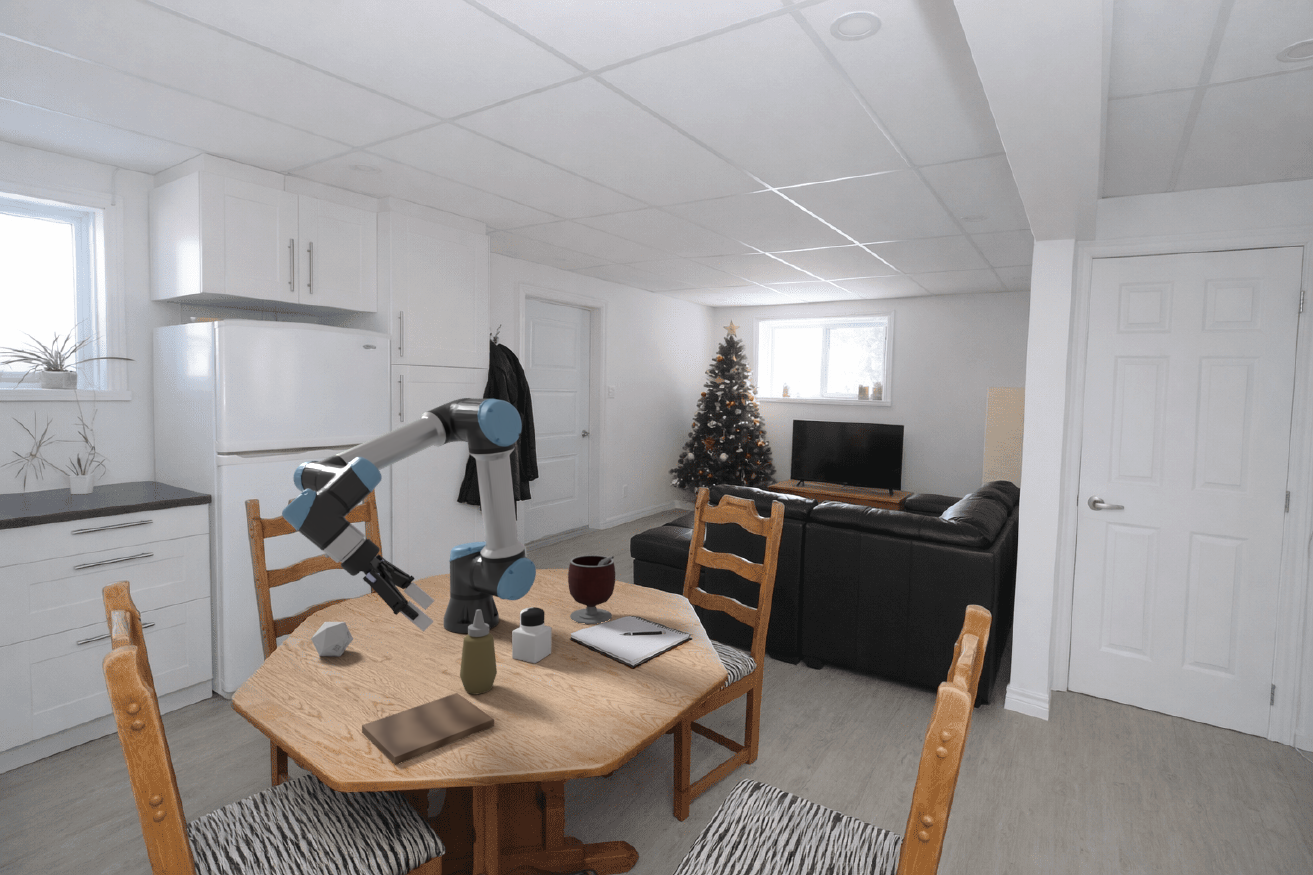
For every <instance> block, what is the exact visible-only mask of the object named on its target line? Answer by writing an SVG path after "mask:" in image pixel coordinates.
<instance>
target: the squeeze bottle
mask: <svg viewBox="0 0 1313 875" xmlns="http://www.w3.org/2000/svg"><path fill="white" fill-rule="evenodd" d="M494 640H495V639H494V635H493V634H492V633H490V629H489V625H488V624H486V623H484V619H483V615H482V610H481V609H478V610H476V613H475V617H474V622H473V624H471V625H469V626H468V633H467V635H465V636H464V637H463V641H462V642H463V643H462V644H463V645H462V652H461V661H460V669H459V678H460V681H461V684H462V686H463V688H464V691H465V692H466V693H468V694H472V695H473V694H474V695H478V694H484V693H487V692H489V691H490V690H492V688H493V686H494V683H495V679H496V676H497V673H498V670H497V660H496V659H497V658H496V650H495V641H494Z"/></svg>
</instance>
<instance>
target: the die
mask: <svg viewBox="0 0 1313 875" xmlns="http://www.w3.org/2000/svg"><path fill="white" fill-rule="evenodd" d="M349 629H350V628H349V627H348V625H347V623H346V621H324V623H323V624H322V625H321V626H320V627H319V628H318V630H317V631H316V632H315V633H314V634H313V636H312V637H311V638H310V640H311V643H312V644H313V646H314V648H315V650H316V652H317V654H318V656H319V657H342V655H343V654H344V652H345V651H346V649H347V648H348V647H349V645H350V644H351V643H352V641H353V640H354V638H353V635H352V634H351V631H350V630H349Z"/></svg>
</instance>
